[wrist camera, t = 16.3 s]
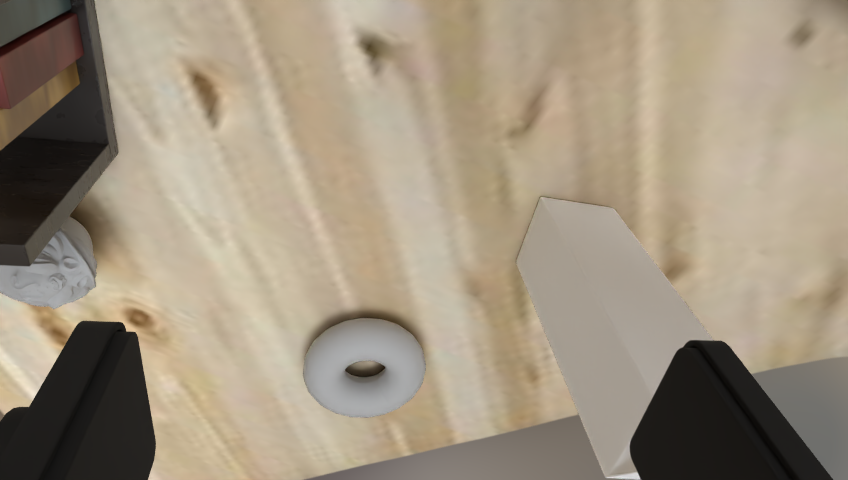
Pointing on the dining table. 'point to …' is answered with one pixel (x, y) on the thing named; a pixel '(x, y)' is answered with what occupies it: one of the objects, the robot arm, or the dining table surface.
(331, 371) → the donut
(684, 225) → the dining table surface
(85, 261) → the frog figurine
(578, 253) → the milk
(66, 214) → the book rack
